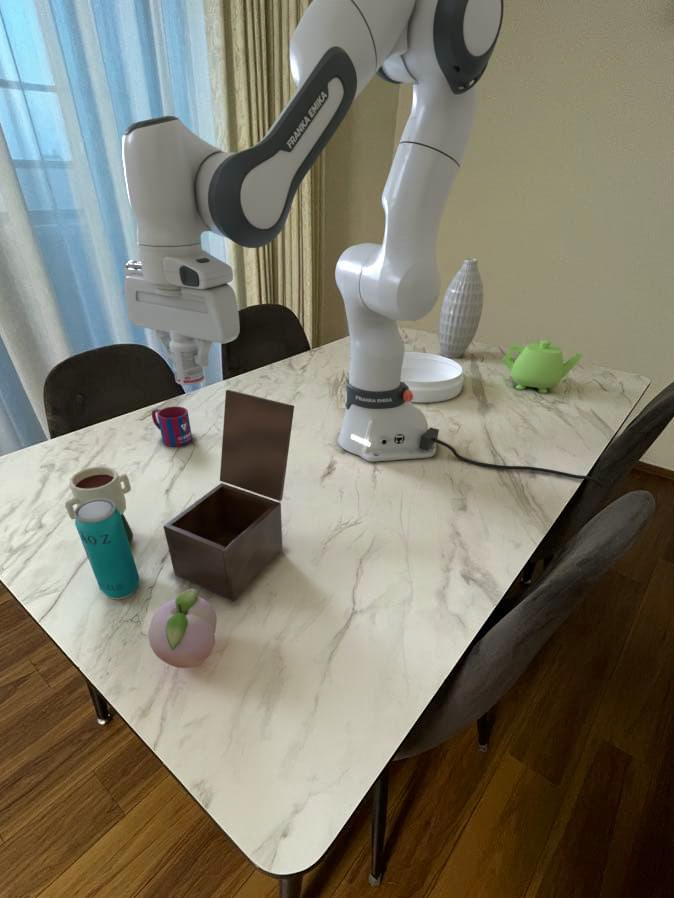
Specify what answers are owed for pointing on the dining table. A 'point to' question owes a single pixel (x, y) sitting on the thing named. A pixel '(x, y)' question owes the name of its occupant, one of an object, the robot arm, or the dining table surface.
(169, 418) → the cup
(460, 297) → the vase
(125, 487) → the character mug
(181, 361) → the pill bottle
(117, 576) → the beverage can
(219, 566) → the box
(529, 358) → the teapot
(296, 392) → the dining table surface
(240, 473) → the lid
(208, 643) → the decorative fruit
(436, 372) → the white round dish
